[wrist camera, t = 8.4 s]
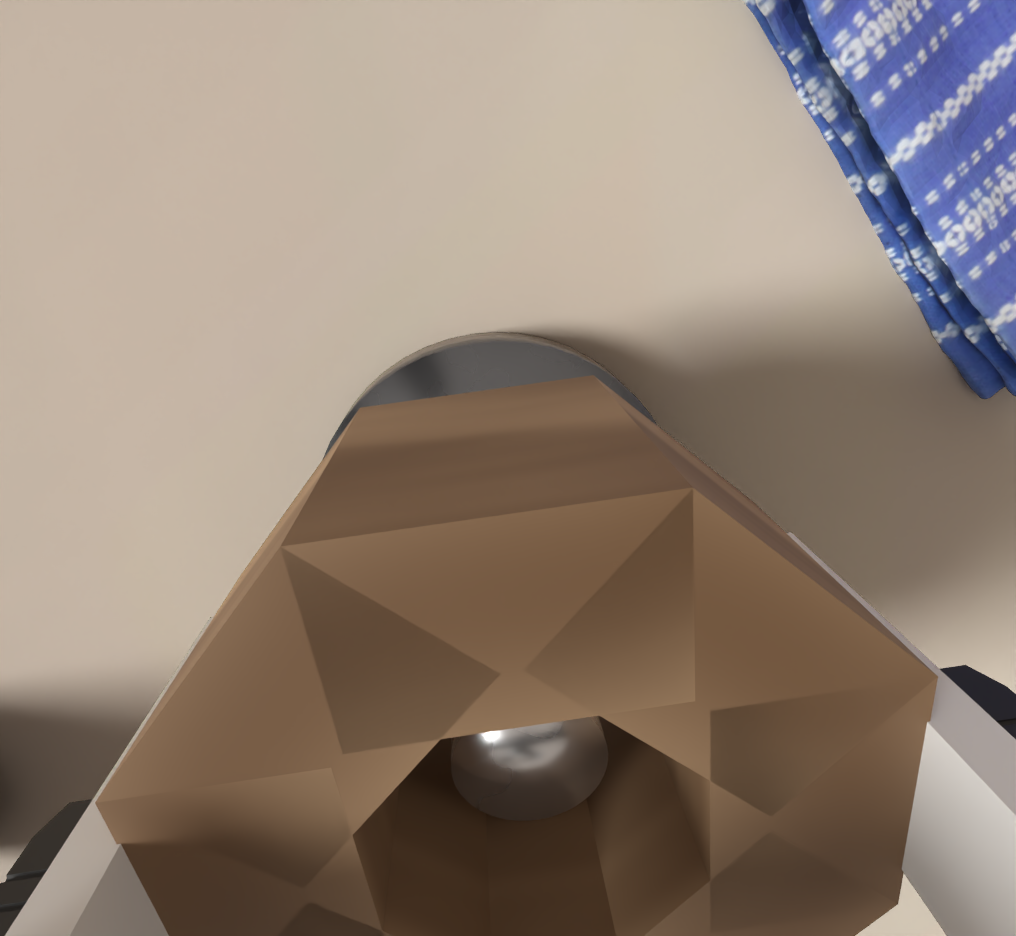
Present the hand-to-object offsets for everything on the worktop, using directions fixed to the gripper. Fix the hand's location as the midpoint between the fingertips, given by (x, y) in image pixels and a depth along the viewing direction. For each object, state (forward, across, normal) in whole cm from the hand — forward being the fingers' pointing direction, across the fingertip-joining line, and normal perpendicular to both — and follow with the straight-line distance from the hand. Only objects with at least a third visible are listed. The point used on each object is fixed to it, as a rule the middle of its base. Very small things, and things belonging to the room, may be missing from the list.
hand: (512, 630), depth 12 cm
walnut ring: (0, 0, 0) cm, 0 cm away
